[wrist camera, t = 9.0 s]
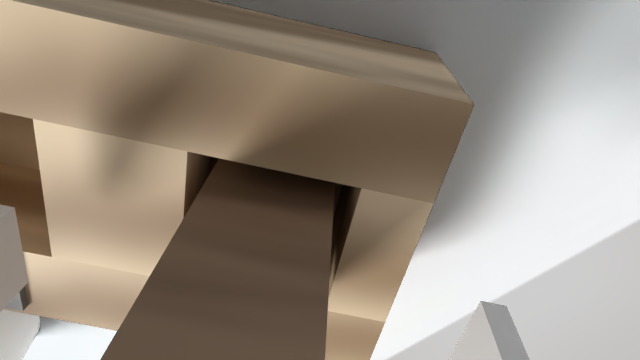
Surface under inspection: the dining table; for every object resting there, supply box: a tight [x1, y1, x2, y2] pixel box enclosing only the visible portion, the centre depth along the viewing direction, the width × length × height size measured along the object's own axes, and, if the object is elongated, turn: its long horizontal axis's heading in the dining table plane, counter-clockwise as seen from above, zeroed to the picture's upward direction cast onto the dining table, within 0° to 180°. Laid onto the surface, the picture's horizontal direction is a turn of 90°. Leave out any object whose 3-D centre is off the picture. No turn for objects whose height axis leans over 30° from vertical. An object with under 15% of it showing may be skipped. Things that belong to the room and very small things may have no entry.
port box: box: [0, 0, 474, 360], centre depth 17 cm, size 12×20×6 cm, turn 78°
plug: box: [101, 158, 335, 360], centre depth 14 cm, size 4×4×12 cm
